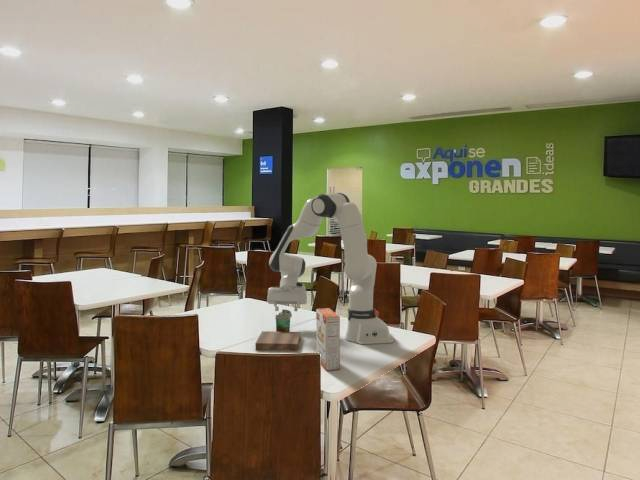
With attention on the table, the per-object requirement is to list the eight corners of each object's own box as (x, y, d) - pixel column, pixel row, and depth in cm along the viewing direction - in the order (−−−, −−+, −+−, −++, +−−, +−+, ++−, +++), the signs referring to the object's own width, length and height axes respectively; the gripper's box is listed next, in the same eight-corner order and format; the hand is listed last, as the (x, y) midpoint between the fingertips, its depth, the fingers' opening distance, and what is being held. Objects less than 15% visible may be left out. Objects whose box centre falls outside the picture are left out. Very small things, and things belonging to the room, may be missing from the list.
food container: (287, 336, 219) (288, 315, 218) (275, 335, 220) (275, 315, 219) (294, 329, 231) (294, 309, 230) (282, 328, 232) (282, 309, 231)
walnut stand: (300, 338, 216) (300, 331, 216) (297, 350, 198) (297, 343, 198) (261, 337, 217) (261, 331, 216) (255, 350, 199) (255, 343, 198)
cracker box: (315, 359, 188) (315, 308, 186) (329, 357, 189) (330, 307, 188) (324, 371, 174) (325, 316, 173) (340, 370, 176) (340, 315, 174)
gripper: (267, 283, 236) (264, 306, 227) (307, 284, 236) (306, 307, 227) (268, 290, 241) (266, 313, 232) (308, 291, 240) (306, 314, 232)
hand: (286, 310), depth 229 cm, fingers open, 8 cm apart
